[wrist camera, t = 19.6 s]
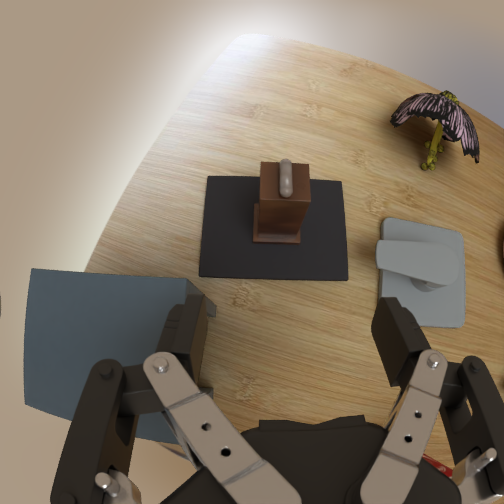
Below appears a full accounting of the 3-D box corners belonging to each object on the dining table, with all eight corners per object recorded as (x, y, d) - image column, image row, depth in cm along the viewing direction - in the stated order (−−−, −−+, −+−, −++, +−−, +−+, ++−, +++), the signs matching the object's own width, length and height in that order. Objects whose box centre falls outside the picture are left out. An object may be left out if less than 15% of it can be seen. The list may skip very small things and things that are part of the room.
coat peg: (252, 243, 33) (253, 198, 23) (254, 206, 34) (254, 150, 24) (299, 245, 33) (320, 201, 22) (298, 207, 34) (316, 153, 24)
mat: (199, 277, 33) (198, 276, 32) (208, 178, 36) (207, 175, 35) (346, 281, 33) (348, 279, 32) (340, 183, 36) (341, 181, 35)
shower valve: (377, 195, 29) (482, 220, 29) (360, 215, 35) (459, 234, 34) (373, 317, 26) (487, 324, 25) (354, 321, 31) (460, 328, 31)
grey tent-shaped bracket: (108, 385, 29) (24, 404, 15) (113, 298, 32) (31, 268, 18) (213, 399, 29) (181, 445, 15) (216, 305, 32) (187, 278, 17)
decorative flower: (498, 109, 29) (493, 133, 22) (473, 170, 38) (455, 212, 31) (415, 67, 36) (379, 76, 29) (400, 127, 45) (361, 155, 38)
